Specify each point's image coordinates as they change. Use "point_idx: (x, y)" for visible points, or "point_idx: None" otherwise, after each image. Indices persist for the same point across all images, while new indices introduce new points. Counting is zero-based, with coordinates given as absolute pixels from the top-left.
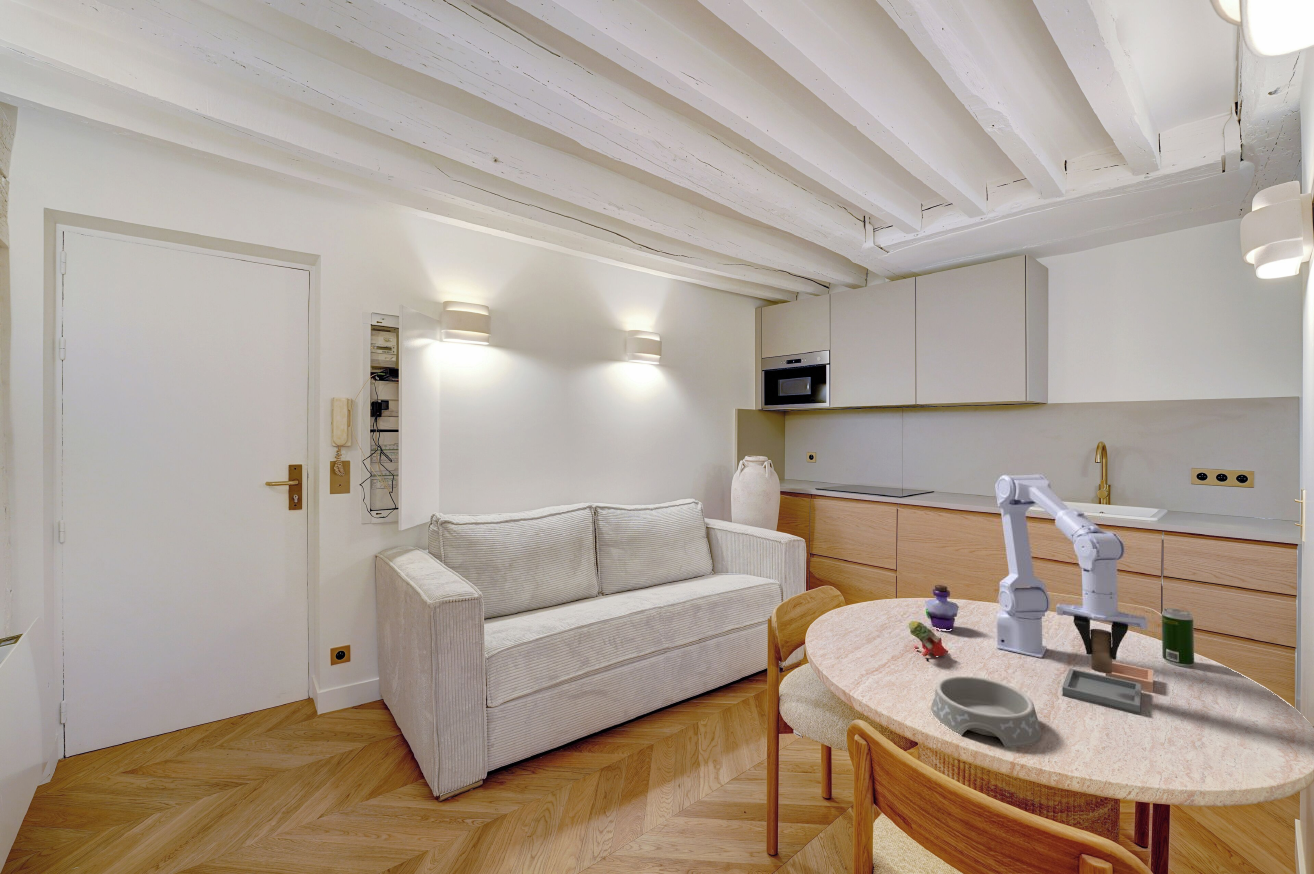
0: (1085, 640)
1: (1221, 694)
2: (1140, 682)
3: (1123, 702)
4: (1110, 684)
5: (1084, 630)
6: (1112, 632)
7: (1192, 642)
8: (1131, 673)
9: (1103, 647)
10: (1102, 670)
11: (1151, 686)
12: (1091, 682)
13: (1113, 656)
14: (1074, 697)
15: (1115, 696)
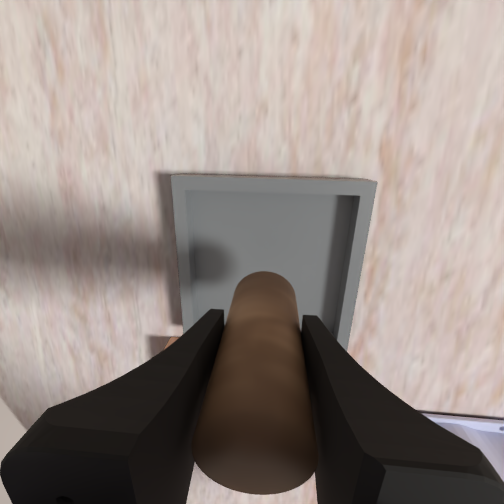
0: (338, 356)
1: (74, 395)
2: None
3: (210, 177)
4: None
5: (368, 407)
6: (152, 408)
7: None
8: None
9: (246, 335)
10: (260, 274)
11: (167, 346)
12: None
13: (212, 313)
14: (335, 178)
15: (236, 248)
